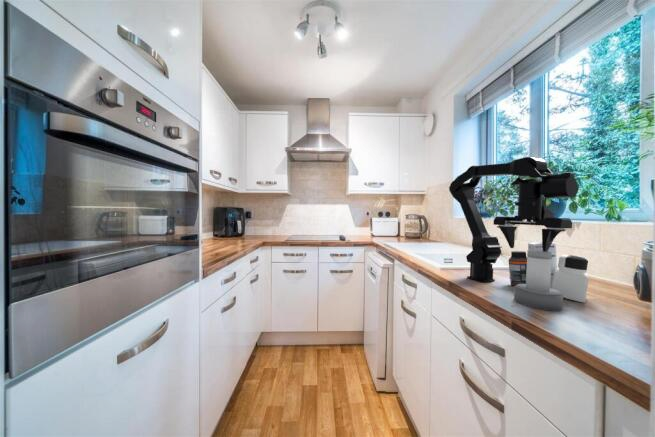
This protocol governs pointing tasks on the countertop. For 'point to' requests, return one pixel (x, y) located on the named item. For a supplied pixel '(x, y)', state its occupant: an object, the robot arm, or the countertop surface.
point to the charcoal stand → (538, 298)
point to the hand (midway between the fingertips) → (527, 250)
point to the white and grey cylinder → (538, 270)
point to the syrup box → (552, 249)
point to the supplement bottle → (518, 267)
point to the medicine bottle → (571, 277)
